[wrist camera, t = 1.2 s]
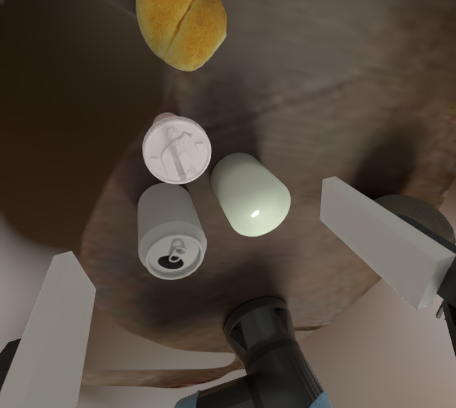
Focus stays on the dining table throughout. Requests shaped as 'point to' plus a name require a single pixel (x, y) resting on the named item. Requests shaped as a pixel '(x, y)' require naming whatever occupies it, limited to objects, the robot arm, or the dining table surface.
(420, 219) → the cantaloupe
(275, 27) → the dining table surface
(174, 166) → the smoothie
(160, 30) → the bread roll
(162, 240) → the can
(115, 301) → the dining table surface
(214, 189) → the sage mug
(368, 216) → the robot arm
